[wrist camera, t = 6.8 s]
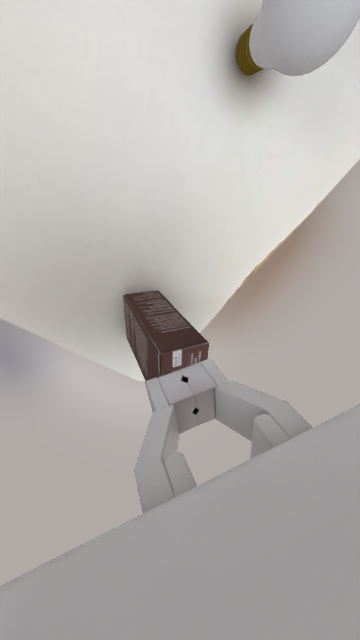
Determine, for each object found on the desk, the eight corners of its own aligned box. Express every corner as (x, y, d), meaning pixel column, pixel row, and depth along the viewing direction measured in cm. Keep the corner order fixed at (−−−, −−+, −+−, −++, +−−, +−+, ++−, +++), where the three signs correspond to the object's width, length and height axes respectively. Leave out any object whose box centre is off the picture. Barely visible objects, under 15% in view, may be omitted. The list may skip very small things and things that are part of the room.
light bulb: (246, 120, 23) (344, 81, 14) (200, 65, 19) (293, -23, 11) (283, 51, 21) (414, -35, 13) (240, -20, 18) (378, -191, 10)
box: (161, 332, 30) (205, 401, 20) (126, 338, 29) (154, 416, 19) (161, 287, 27) (212, 342, 17) (122, 291, 26) (153, 354, 16)
